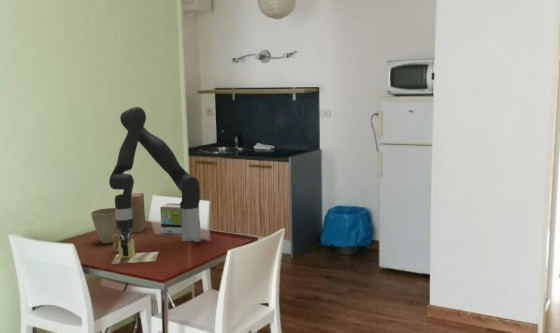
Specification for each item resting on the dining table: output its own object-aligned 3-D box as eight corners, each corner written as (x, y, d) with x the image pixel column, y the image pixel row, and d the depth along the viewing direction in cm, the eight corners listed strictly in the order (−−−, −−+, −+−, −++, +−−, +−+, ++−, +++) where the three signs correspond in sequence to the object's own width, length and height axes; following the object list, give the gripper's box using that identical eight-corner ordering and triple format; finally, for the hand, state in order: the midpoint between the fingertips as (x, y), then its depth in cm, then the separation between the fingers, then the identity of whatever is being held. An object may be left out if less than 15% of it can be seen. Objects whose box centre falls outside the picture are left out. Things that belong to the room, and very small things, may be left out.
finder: (134, 253, 256) (133, 238, 255) (133, 257, 251) (131, 241, 250) (121, 254, 256) (120, 239, 254) (119, 258, 251) (118, 242, 250)
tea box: (161, 233, 295) (159, 206, 293) (168, 229, 305) (167, 202, 303) (187, 234, 292) (186, 207, 290) (194, 229, 302) (193, 203, 300)
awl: (121, 252, 264) (119, 233, 263) (119, 253, 261) (118, 235, 260) (114, 252, 264) (113, 234, 262) (113, 254, 261) (111, 235, 259)
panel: (159, 254, 259) (158, 251, 258) (155, 263, 245) (155, 260, 245) (117, 256, 257) (116, 254, 256) (111, 266, 243) (111, 263, 243)
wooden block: (141, 232, 299) (138, 196, 296) (122, 233, 299) (120, 196, 296) (146, 228, 309) (143, 192, 306) (128, 228, 309) (125, 193, 306)
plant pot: (113, 236, 294) (110, 206, 291) (129, 240, 284) (127, 209, 282) (87, 242, 282) (85, 212, 280) (104, 247, 273) (101, 215, 271)
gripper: (130, 220, 244) (132, 258, 247) (135, 213, 258) (137, 249, 261) (112, 221, 243) (115, 259, 246) (118, 214, 258) (121, 250, 260)
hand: (126, 254), depth 253 cm, fingers closed on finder, 5 cm apart
